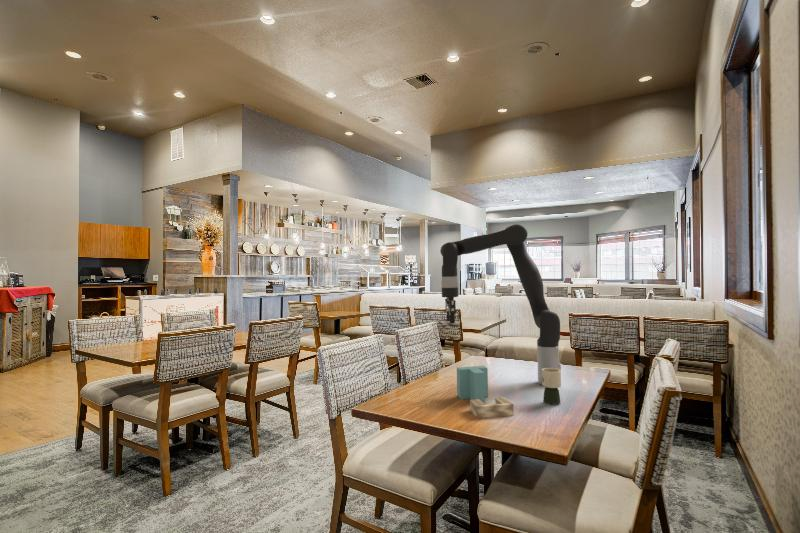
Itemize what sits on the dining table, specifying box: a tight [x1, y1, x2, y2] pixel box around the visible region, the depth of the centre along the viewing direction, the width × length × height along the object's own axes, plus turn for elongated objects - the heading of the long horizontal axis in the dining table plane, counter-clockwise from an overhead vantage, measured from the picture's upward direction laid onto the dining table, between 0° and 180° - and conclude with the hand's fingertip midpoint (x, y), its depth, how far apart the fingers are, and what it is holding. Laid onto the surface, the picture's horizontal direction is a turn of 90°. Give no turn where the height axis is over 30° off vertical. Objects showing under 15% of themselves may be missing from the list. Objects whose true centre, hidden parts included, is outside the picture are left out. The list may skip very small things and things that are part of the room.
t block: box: [456, 365, 489, 404], centre depth 173 cm, size 12×11×12 cm
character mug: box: [541, 368, 562, 405], centre depth 166 cm, size 11×7×13 cm, turn 146°
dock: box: [469, 396, 515, 419], centre depth 156 cm, size 14×8×4 cm, turn 100°
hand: (450, 322), depth 192 cm, fingers open, 8 cm apart
